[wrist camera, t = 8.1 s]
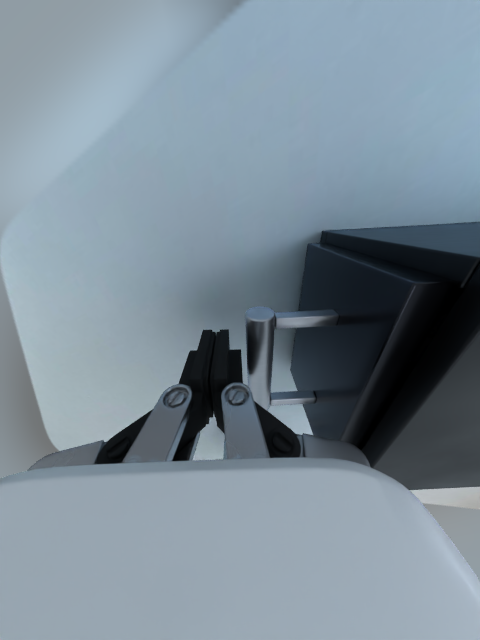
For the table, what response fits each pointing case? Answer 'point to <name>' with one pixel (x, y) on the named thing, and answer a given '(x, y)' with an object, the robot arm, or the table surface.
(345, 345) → the open pull-out drawer
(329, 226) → the table surface
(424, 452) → the black drawer cabinet
